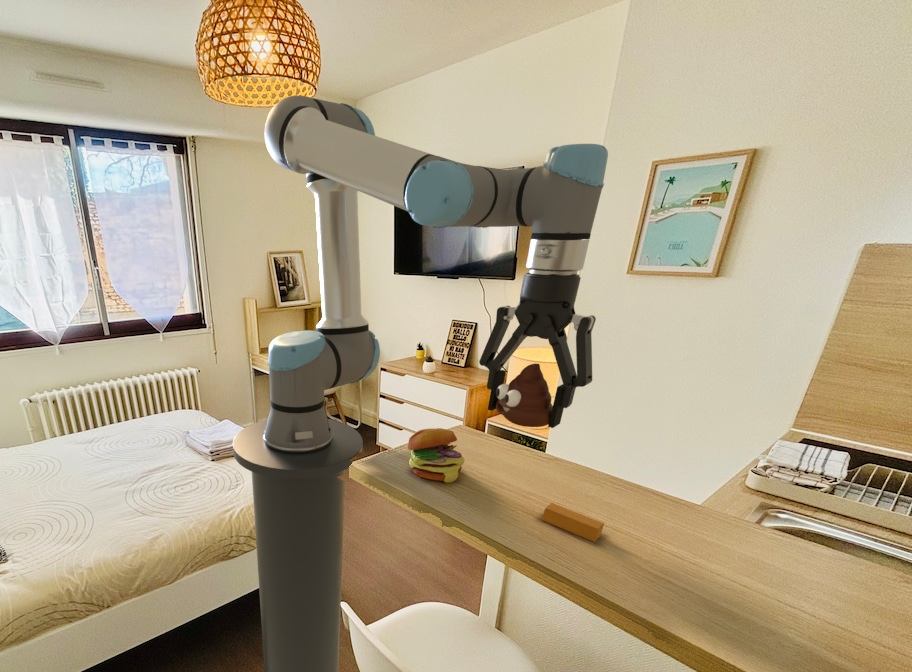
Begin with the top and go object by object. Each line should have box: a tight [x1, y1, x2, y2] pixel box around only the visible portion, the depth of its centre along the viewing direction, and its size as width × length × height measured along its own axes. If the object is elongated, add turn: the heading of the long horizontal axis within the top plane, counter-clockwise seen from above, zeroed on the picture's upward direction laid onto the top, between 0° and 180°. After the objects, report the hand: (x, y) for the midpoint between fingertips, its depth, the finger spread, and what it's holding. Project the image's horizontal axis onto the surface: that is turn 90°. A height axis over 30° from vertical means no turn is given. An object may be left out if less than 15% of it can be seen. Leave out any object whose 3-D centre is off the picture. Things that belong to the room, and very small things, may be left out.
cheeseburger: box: [407, 427, 465, 484], centre depth 90 cm, size 10×11×10 cm
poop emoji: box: [495, 363, 553, 428], centre depth 75 cm, size 10×8×9 cm
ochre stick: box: [541, 502, 605, 542], centre depth 74 cm, size 8×2×2 cm, turn 42°
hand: (522, 416), depth 77 cm, fingers closed on poop emoji, 9 cm apart
